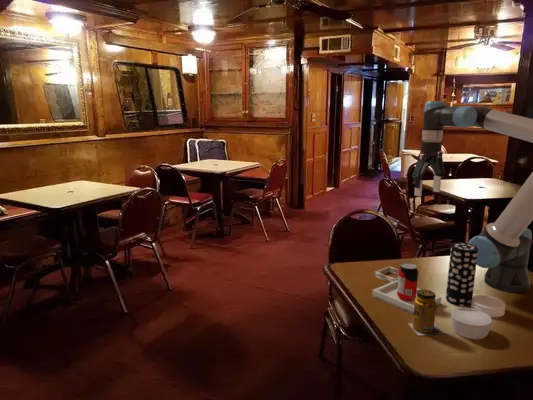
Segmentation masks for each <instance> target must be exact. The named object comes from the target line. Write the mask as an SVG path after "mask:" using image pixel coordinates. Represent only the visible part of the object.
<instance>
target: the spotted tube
mask: <svg viewBox="0 0 533 400" xmlns="http://www.w3.org/2000/svg"><path fill="white" fill-rule="evenodd" d="M468 243H469V242H453V243H451V244H450V253H449V263H448V271H447V283H446V291H445V292H446V293H445V300H446V302H447V303H449V304H451V305H453V306H455V307H456V306H457V307H469V306H470V307H471V302H472V298H473V297H474V296H473V294H474V287H475V279H476V270H477V265H476V263H477V254H478V247H477V246H475V245H472V244H468Z"/></svg>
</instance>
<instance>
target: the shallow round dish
mask: <svg viewBox="0 0 533 400" xmlns="http://www.w3.org/2000/svg"><path fill="white" fill-rule="evenodd" d="M470 308H471V309H475V310H479V311H481V312H484V313H486V314H487V315H489V316H490V317H491V318H501V317H503V316H504V315H505V313H506V303H505V302H504V301H503V300H502V299H500V298H497V297H495V296H491V295H484V294H479V295H474V296H473V297H472V302H471V305H470Z"/></svg>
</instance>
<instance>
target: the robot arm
mask: <svg viewBox="0 0 533 400" xmlns="http://www.w3.org/2000/svg"><path fill="white" fill-rule="evenodd" d="M423 109H424V110H423V119H422V120H423V121H422V122H423V126H422V132H421V133H422V134H421V140H422V141H421V146H420V150H421V151H422V152H423V154H420V153H419V154H418V156H417V161H416V164H415V166H414V169H413V172H412V175H411V178H412V180H414V196H416V197H422V195H423V194H422V193H423V192H422V191H423V181H424V180H423V177H424V175H425V173H426V171H427V169H428V167H430V166H431V167H432V169H433V172H434V176H433V182H432V183H433V184H432V185H433V186H432V192H434V193H440V191H441V183H442V181H441V180H442V177H444V176H445V174H446V171H445V165H444V160H443V152H441V151H442V148H443V147H442V145H443V143H442V141H443V134H444V127H450V128H451V127H453V128H470V127H476V128H480V129H484V130H487V131H491V132H494V133H497V134H500V135H501V134H502V135H505V136H507V137H508V136H509V137H512V138H515V139H519V140H522V141H526V142H529V143H532V144H533V118H530V117H525V116H520V115H517V114H513V113H509V112H505V111H500V110H496V109H493V108H492V107H491V108H490V107H488V106H485V105H477V106H467V105H458V106H457V105H456V106H448V105H447V104H446V102H445V100H442V101H441V100H438V101H436V100H434V101H432V100H430V101H426V102H425V104H424V108H423ZM532 221H533V171H532V172H531V174H530V175H529V176H528V177H527V179H526V180H525V182H524V183H523V185H521V187H520V188H519V189H518V191H517V192H516V194H515V195H514V196H513V197H512V199H511V200H510V202H509V203H508V204H507V205H506V207H505V209H504V210H503V211H502V212H501V214H500V215H499V216H498V218H497V219H496V220H495V221H494V222H490V223H487V224H486V225H485V227H484V228H483V230H482V231H481V232H480V233H479V235H476V236H475V235H474V237H472V238H471V239H469V241H468V242H467V243H468V244H472V245H475V246H477V247H478V254H477V263H476V266H478V267H480V268H482V269H487V270H486V272H485V274H484V283H485V284H486V285H488V286H490V287H492V288H494V289H496V290H498V291H499V290H500V291H503V292H510V293H525V292H528V291H529V290H530V289H531V279H530V276H529V271H528V270H529V269H528V263H529V259H530V252H531V251H530V250H531V244H532V240H533V237H532V236H533V233H532V230H530V229H529V228H528V227H529V225H530V224H531V223H532Z"/></svg>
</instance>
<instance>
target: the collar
mask: <svg viewBox="0 0 533 400" xmlns="http://www.w3.org/2000/svg"><path fill="white" fill-rule="evenodd" d="M387 273H391V274H394V275H397V277H392V276H389V275H387ZM398 275H399V268H396V267H392V266H390V265H389V266H386V267H382V268H379V269H378V270H375V271H373V277H374V278H377V279H379V280H381V281H385V282H387V283H391V282H393V281H395V280H397V281H398Z"/></svg>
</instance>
